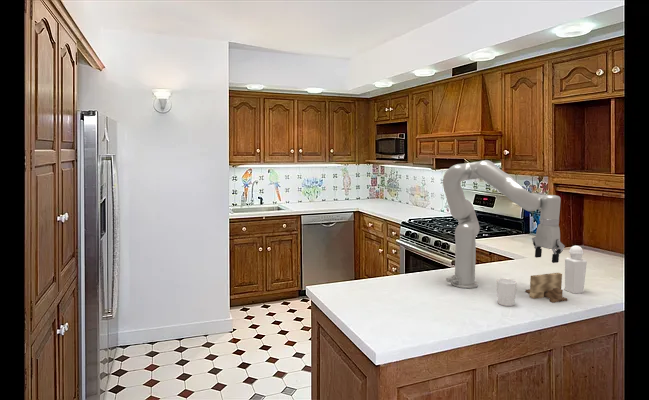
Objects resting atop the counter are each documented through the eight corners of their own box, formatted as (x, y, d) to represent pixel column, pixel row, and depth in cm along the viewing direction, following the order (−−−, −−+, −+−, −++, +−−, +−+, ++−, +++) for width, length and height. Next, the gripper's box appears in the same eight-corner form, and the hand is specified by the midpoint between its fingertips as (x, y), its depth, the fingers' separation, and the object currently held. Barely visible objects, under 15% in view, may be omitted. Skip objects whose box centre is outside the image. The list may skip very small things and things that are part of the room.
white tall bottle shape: (585, 293, 204) (588, 246, 202) (572, 294, 203) (575, 247, 201) (575, 288, 210) (577, 243, 208) (562, 289, 209) (565, 244, 207)
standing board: (567, 300, 194) (567, 289, 193) (553, 302, 191) (553, 291, 191) (538, 290, 209) (539, 279, 208) (525, 291, 206) (525, 281, 206)
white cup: (495, 299, 195) (496, 278, 194) (514, 301, 193) (515, 279, 192) (497, 305, 188) (497, 283, 187) (516, 307, 186) (518, 284, 185)
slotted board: (533, 298, 196) (534, 277, 195) (529, 297, 199) (530, 275, 198) (561, 295, 202) (562, 273, 201) (557, 293, 204) (558, 272, 203)
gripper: (528, 219, 203) (525, 255, 205) (558, 226, 187) (555, 265, 189) (540, 219, 206) (538, 254, 208) (572, 225, 189) (568, 264, 192)
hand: (546, 259), depth 198 cm, fingers open, 9 cm apart
